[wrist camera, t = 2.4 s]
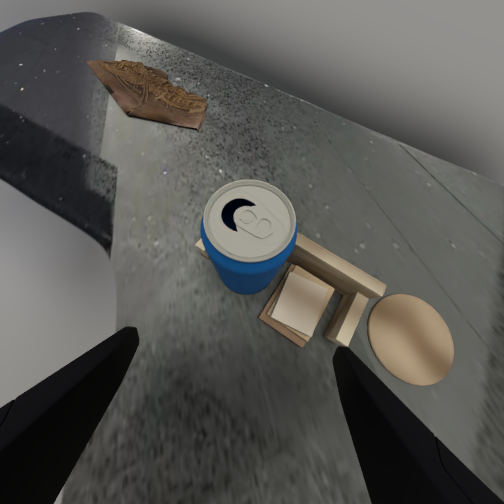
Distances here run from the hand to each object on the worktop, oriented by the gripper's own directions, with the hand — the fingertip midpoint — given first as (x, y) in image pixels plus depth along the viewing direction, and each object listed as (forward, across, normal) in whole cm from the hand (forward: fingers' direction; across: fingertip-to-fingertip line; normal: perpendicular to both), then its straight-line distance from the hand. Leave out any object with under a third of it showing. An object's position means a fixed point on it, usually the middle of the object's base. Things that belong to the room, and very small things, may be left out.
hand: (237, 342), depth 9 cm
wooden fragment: (+34, +20, -15) cm, 43 cm away
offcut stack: (+11, -6, +7) cm, 14 cm away
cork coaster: (+10, -18, +8) cm, 22 cm away
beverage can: (+14, 0, +4) cm, 15 cm away
